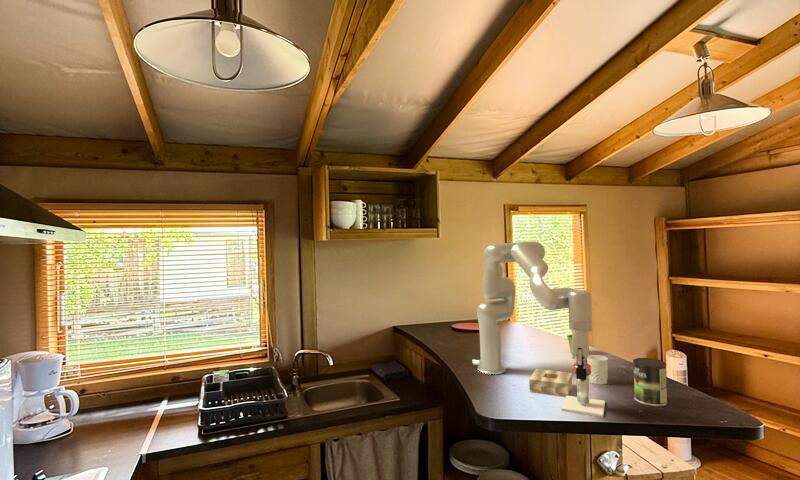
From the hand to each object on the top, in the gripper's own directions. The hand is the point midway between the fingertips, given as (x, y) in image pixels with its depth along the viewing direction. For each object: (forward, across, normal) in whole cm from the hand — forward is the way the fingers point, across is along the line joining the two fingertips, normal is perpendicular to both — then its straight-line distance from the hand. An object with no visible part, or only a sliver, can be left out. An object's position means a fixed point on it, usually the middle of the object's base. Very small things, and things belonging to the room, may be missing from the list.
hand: (582, 376), depth 147 cm
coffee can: (+11, -15, +21) cm, 28 cm away
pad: (+11, 0, 0) cm, 11 cm away
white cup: (+11, -29, +3) cm, 31 cm away
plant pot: (+11, -70, -9) cm, 71 cm away
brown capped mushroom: (+9, 0, 0) cm, 9 cm away
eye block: (+11, -14, -13) cm, 22 cm away
